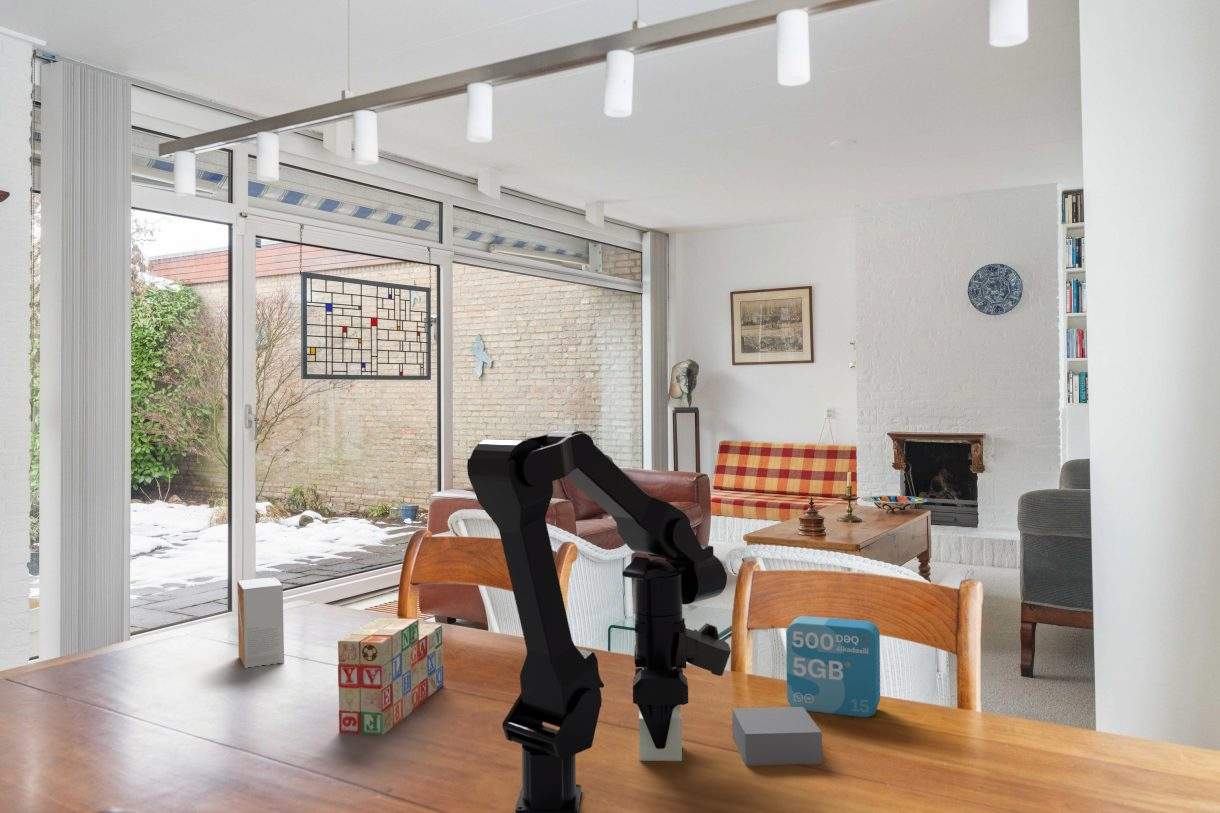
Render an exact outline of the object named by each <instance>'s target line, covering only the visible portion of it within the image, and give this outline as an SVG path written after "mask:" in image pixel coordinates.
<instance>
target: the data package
mask: <svg viewBox="0 0 1220 813" xmlns="http://www.w3.org/2000/svg"><path fill="white" fill-rule="evenodd" d="M880 636H881V635H880V629H879V627H878V626H877V625H876V624H875V623H874V622H872V621H870V620H869V621H868V620H860V619H859V620H858V619H847V618H845V619H844V618H834V617H821V616H820V617H819V616H807V615H801V616H798V617H796V618H795V619H794V620H793V621H792V622H791V623H790V624H789V625H788V627H787V628H786V633H785V638H786V641H785V643H786V647H785V648H786V649H785V650H786V654H785V657H786V699H787V702H788V704H789V706H790V707H804V709H805V710H806V711H807V712H811V713H812V712H815V713H823V714H832V715H840V716H848V717H856V718H870V717H872V716H874V714H876V712H877V709H878V707H879V704H880V701H881V646H880V644H881V642H880V641H881V640H880V638H881V637H880Z"/></svg>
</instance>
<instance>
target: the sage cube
mask: <svg viewBox="0 0 1220 813" xmlns="http://www.w3.org/2000/svg"><path fill="white" fill-rule="evenodd" d="M681 711H682V710H681V705H677V706H676V707H675V708H674V709H673V713H672V717H671V722H670V727H669V732H668V737H667V741H666V746H665V748H664V749H657V748H656V747H655V745H654V742H653V740H652V738H651V735H650V733H649V730H648V728H647V726H646V724H645V721H644V719H643V717H642V714H641V712H640V710H638V728H639V729H638V730H639V732H638V739H639V740H638V742H639V743H638V745H639V749H638V750H639V752H638V753H639V761H640V762H645V761H646V762H647V761H648V762H649V761H650V762H654V761H655V762H656V761H657V762H658V761H659V762H661V761H662V762H665V761H666V762H667V761H668V762H677V761H678V762H682V761H683V750H682V749H683V746H682V745H683V744H682V738H683V737H682V735H683V734H682V732H683V731H682V729H683V728H682V712H681Z"/></svg>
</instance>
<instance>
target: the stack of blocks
mask: <svg viewBox="0 0 1220 813" xmlns="http://www.w3.org/2000/svg"><path fill="white" fill-rule="evenodd" d="M337 655H338V658H337V659H338V664H337V675H338V676H337V683H338V684H337V685H338V732H339V733H344V734H345V733H346V734H363V735H366V734H367V735H380V736H383V735H384V734H386V733H387V732H388V731H389V730H391V729H392V728H393V727H395V726H396V725H398V723H400V722H401V721H403V720H404V718H406V717H408V716H409V715H410V714H411V713H412V712H413V711H414V710H415V709H416V708H417V707H418V706H419V705H421V703H423V702H424V701H425V700H427V699H428V698H429V697H430V696H432V695H433V694H434V693H435V692H436V691H437V690H439V689H440V688H441V687H443V685H444V683H445V682H444V680H445V679H444V678H445V677H444V676H445V675H444V668H445V667H444V645H443V624H435V623H434V624H432V623H430V624H429V623H419V618H390V617H389V618H388V617H378V618H376V619H375V620H372V621H371V622H369V623H367V624H365V625H364V626H362V627H361V628H358V629H356V630H355V631H353V632H352V633H350V634H348V635H346V636H344V637H341V639H339V640H337Z"/></svg>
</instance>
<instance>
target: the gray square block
mask: <svg viewBox="0 0 1220 813" xmlns="http://www.w3.org/2000/svg"><path fill="white" fill-rule="evenodd" d="M731 711H732V715H731V716H732V719H731V720H732V722H731V723H732V730H731V731H732V739H733V741H734V744H735V745H736V748H737V750H738V753H739V754H740V756H741V759H742V761H743V764H744V765H745V766H747V767H748V766H750V767H751V766H783V765H790V766H791V765H817V764H818V765H819V764H820V765H822V764H823V732H822V731H821V729H820V727H819V726H818V725H817V723H816V721H815V720H814V719H813V718H812V717H811V716H810V714H809V713H808V711H806V710H805V709H804V707H792V706H779V707H776V706H775V707H738V708H737V707H736V708H734V707H733V708H732V709H731Z"/></svg>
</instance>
